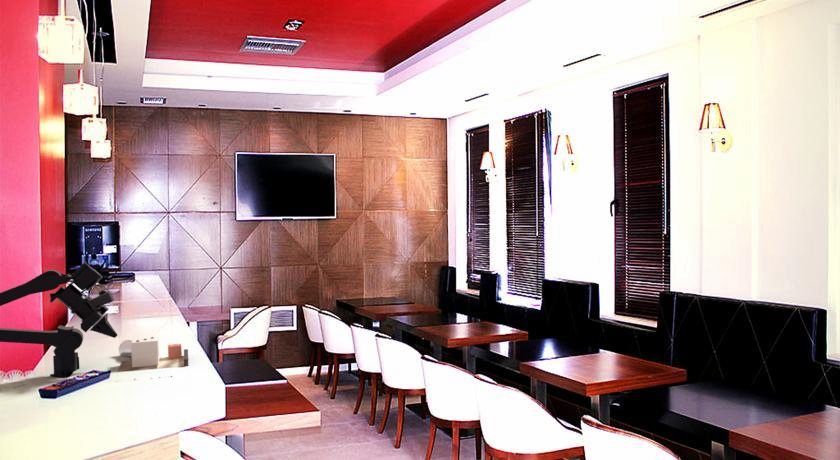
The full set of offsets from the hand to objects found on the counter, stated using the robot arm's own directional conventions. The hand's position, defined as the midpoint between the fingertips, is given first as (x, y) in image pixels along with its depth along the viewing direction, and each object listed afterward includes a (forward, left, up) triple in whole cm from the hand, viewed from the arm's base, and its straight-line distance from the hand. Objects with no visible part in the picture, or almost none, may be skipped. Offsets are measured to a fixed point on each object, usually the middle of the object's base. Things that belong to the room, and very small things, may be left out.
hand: (116, 336), depth 218 cm
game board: (+7, -8, -10) cm, 15 cm away
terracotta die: (+16, -8, -9) cm, 20 cm away
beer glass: (+16, +12, -7) cm, 22 cm away
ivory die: (+5, -6, -9) cm, 12 cm away
